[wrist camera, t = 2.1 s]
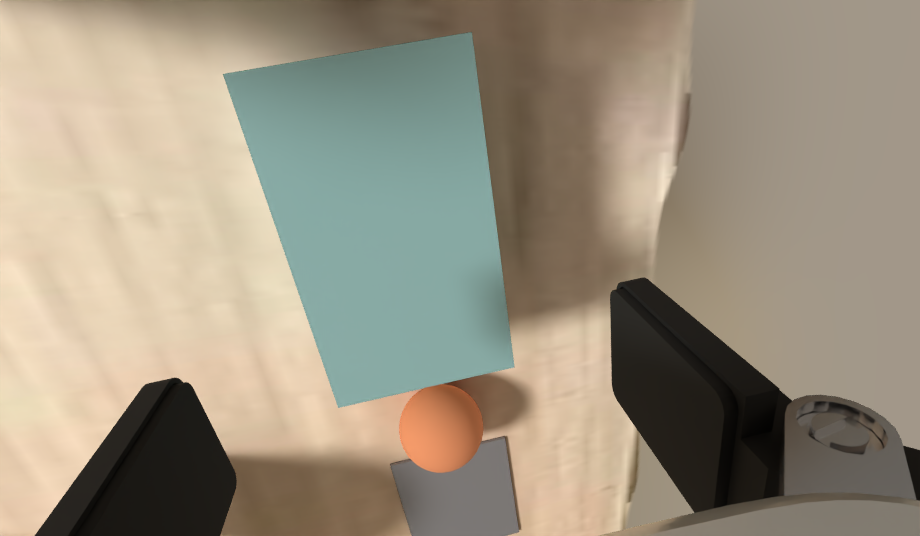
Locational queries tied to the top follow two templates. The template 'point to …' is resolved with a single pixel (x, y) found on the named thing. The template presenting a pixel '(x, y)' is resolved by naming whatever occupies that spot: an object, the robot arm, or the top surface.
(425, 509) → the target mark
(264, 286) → the top surface
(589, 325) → the top surface
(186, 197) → the top surface
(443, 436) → the ball
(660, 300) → the robot arm
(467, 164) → the teal rectangular block
